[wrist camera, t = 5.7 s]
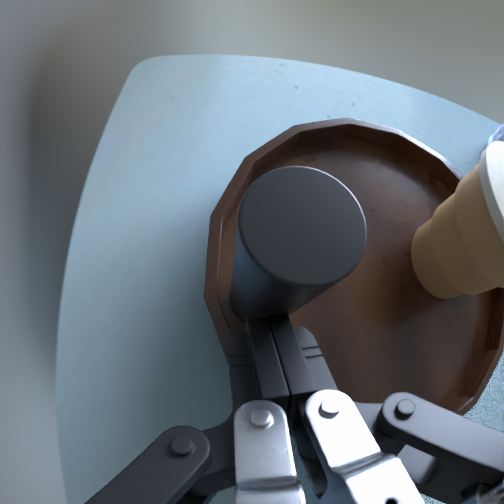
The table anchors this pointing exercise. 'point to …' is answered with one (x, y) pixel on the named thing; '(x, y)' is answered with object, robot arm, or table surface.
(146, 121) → the table surface
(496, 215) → the paper cups
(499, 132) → the energy drink
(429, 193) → the tray
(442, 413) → the robot arm
